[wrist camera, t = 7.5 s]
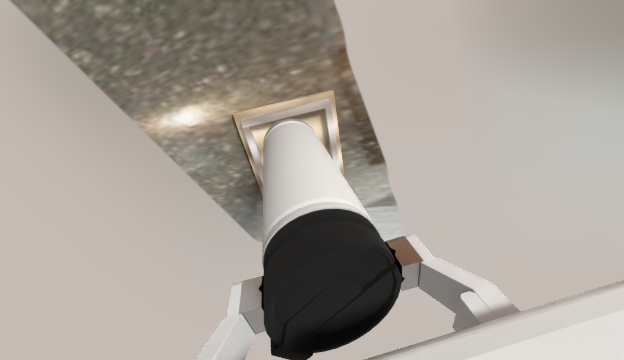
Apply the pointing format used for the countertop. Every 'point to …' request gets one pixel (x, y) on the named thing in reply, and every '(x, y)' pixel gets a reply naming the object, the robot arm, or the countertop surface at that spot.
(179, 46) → the countertop surface
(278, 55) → the countertop surface
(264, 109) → the square metal tray
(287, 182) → the travel mug
